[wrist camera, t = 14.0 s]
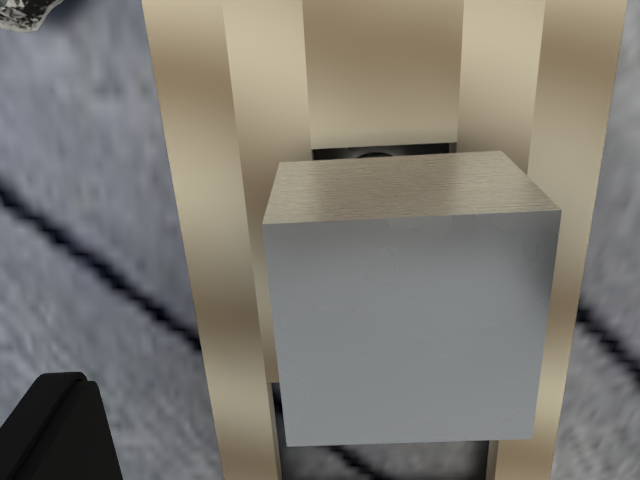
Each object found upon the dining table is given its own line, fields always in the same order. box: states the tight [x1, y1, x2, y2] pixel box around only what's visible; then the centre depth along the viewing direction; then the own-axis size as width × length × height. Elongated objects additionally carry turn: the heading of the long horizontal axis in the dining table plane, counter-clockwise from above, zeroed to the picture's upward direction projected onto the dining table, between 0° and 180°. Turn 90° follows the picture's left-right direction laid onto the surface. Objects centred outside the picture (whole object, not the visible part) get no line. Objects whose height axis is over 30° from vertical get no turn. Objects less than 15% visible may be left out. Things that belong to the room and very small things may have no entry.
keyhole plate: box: [142, 0, 628, 480], centre depth 20 cm, size 22×12×3 cm, turn 3°
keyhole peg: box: [262, 143, 562, 447], centre depth 15 cm, size 6×6×10 cm
